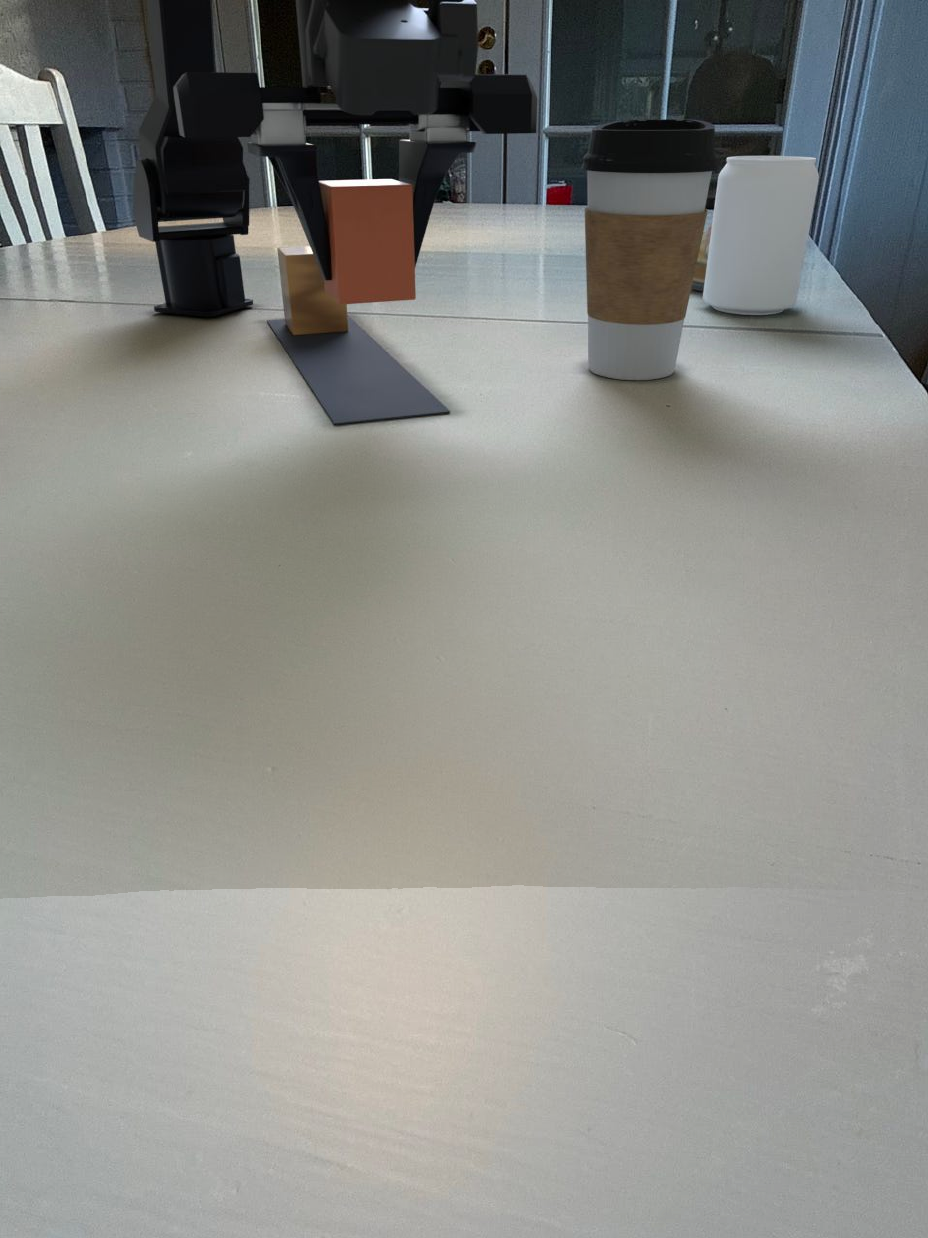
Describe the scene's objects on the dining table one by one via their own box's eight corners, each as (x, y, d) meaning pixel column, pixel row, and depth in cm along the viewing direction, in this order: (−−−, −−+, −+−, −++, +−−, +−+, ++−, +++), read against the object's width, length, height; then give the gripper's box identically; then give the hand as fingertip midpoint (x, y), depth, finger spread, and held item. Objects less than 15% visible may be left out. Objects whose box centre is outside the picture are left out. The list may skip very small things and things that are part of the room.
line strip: (450, 412, 52) (450, 411, 52) (334, 424, 50) (334, 423, 50) (347, 315, 76) (347, 314, 76) (267, 321, 74) (267, 320, 74)
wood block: (293, 335, 69) (285, 254, 66) (285, 324, 73) (277, 247, 70) (348, 331, 70) (343, 251, 67) (337, 320, 74) (332, 244, 71)
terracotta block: (339, 304, 49) (330, 186, 46) (324, 291, 53) (315, 180, 50) (416, 299, 50) (412, 184, 47) (396, 286, 54) (392, 178, 51)
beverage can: (800, 318, 74) (829, 160, 68) (703, 315, 76) (723, 159, 70) (789, 300, 81) (815, 155, 75) (700, 298, 82) (718, 155, 76)
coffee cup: (699, 359, 62) (730, 118, 55) (685, 390, 56) (718, 120, 48) (584, 350, 65) (599, 119, 57) (557, 379, 58) (569, 121, 50)
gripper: (156, -101, 34) (216, 314, 42) (590, -76, 39) (570, 291, 47) (150, -57, 43) (200, 277, 51) (503, -41, 48) (498, 261, 56)
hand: (367, 277), depth 51 cm, fingers closed on terracotta block, 4 cm apart
